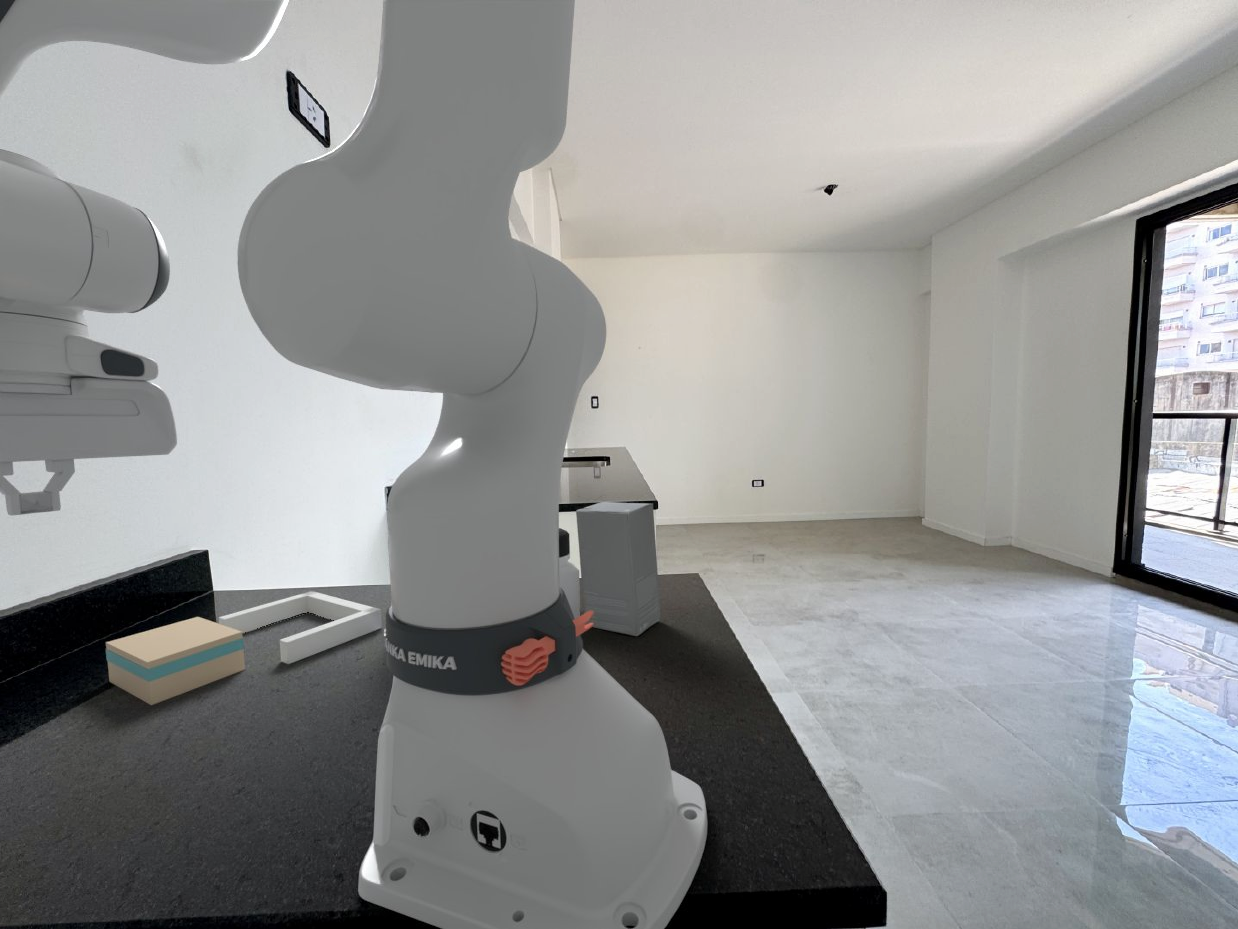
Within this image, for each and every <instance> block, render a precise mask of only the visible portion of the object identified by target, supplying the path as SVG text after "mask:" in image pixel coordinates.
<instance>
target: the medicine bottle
mask: <svg viewBox="0 0 1238 929" xmlns="http://www.w3.org/2000/svg"><path fill="white" fill-rule="evenodd" d="M570 540H571V539H570V533H569V532H568V531H567V530H565V529H563V528H560V527H559V579H560V587H561V589H562V590H563V591H564V593H565V595H566V597H567V600H568V602H569V605H570V607H571V610H572V613H573V615H574V618H575V619H576V618H578V617H579V616H581V599H580V598H581V595H580V594H581V592H580V591H581V590H580V585H581V584H580V570H579V569H578V567H577V566H576V565H575V564H574V563H573V562H572V561H571V560H570V558H571V549H570V548H571V546H570Z"/></svg>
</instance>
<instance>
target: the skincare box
mask: <svg viewBox="0 0 1238 929" xmlns="http://www.w3.org/2000/svg"><path fill="white" fill-rule="evenodd" d="M575 513H576V514H575V515H576V525H577V526H576V527H577V537H578V538H577V539H578V540H577V541H578V548H579V549H578V550H579V564H580V576H581V580H580V581H581V591H582V604H583V605H582V606H583V614H585V613H586V612H588V611H590V610H592V611H594V614H593V615H592V617H591V618H590V620H589V621H588V622H586V623H585V625H587V624H589V623H594V625H593V626H592V627H591V628H594V629H599V630H605V631H609V632H614V633H619V634H623V635H624V634H625V635H629V636H634V637H638V636H639V635H641V634H642V633H644V632H645V631H646V630H647V629H649V628H650V627H652V626H653V625H654V624H656V623H658V622H659V621H660V618H661V617H662V616H661V603H660V588H659V587H660V586H659V576H658V575H659V574H658V558H657V545H656V532H655V531H656V529H655V516H654V503H645V502H644V503H643V502H642V503H641V502H640V503H639V502H636V503H635V502H629V503H628V502H615V501H614V502H613V501H611V502H610V501H601V502H598V503H595V504H592V505H589V506H585V507H583V508H580V509H579V508H578V509H577V510H576V511H575Z"/></svg>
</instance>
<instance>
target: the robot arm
mask: <svg viewBox="0 0 1238 929" xmlns="http://www.w3.org/2000/svg"><path fill="white" fill-rule="evenodd" d="M289 1H290V0H0V98H1V96H3V94H4V93H5V91H6V90H7V88H8V86H9V85H10V83H11V82H12V81H13V79H14V77H15V76H16V74H17V73H18V72H19V70H20V69H21V67H22V65H23V64H24V63H25V61H26V60H27V59H28V58H29V57H31V56H32V55H33V54H34V53H36V52H38V51H39V50H41V49H43V48H46V47H47V46H50V45H55V44H59V43H65V42H93V43H100V44H101V43H102V44H109V45H115V46H120V47H125V48H129V49H134V50H136V51H137V50H138V51H143V52H144V53H145V52H146V53H150V54H153V55H158V56H161V57H165V58H169V59H171V60H178V61H181V62H185V63H193V64H199V65H200V64H202V65H228V64H234V63H235V64H236V63H238V62H242V61H245V60H248V59H251V58H253V57H254V56H256V55H257V54H259V52H260V51H262V49H263V48H264V47H265V46H266V45H267V44H268V42H269V41H270V39H271V38H272V36H273V35H274V33H275V32H276V31H277V30H276V29H278V26H279V24H280V22H281V20H282V17H283V15H284V12H285V10H286V8H287V6H288V3H289ZM575 4H576V0H382V15H381V16H382V17H381V28H380V43H379V44H380V45H379V55H378V67H377V72H376V76H375V77H376V78H375V82H374V86H373V90H372V93H371V97H370V100H369V103H368V105H367V107H366V110H365V112H364V114H363V116H362V117H361V119H360V121H359V123H358V125H357V126H356V128H355V129H354V130H353V131H352V132H351V134H350V135H349V136H348V137H347V139H345V140H344V141H343V142H342V143H341V144H340V145H338V146H337V147H336V148H334V149H333V150H332V151H330V152H328V153H326V154H324V155H321V156H319V157H317V158H314V159H311V160H310V159H309V160H308V161H305V162H304V161H303V162H300V163H299V164H296V165H295V166H292V167H291V168H289V169H287V170H285V171H284V172H282V173H281V174H279V175H278V176H277V177H275V178H274V179H272V181H270V182H269V183H268V184H267V185H266V186H265V187H264V188H263V189H262V191H261V192H260V193H259V194H258V196H257V197H256V198H255V199H254V201H253V202H252V204H251V206H250V208H249V209H248V210H247V213H246V215H245V218H244V220H243V224H242V227H241V229H240V233H239V237H238V243H237V244H238V245H237V254H236V255H237V272H238V273H237V274H238V279H239V285H240V289H241V293H242V297H243V299H244V301H245V304H246V307H247V309H248V312H249V313H250V315H251V318H252V320H253V321H254V323H255V324H256V326H257V328H258V329H259V331H260V332H261V335H263V337H264V338H265V339H266V340H267V341H268V343H269V344H270V345H271V347H273V349H274V350H275V351H276V352H277V353H278V354H279V355H280V356H282V358H284V359H286V360H287V361H288V362H291V363H293V364H295V365H298V366H301V367H304V368H307V369H310V370H312V371H316V372H318V373H319V372H320V373H323V374H326V375H328V376H332V377H335V378H338V379H342V380H345V381H349V382H351V383H355V384H359V385H362V386H366V387H370V388H375V389H380V390H386V391H387V390H391V391H405V392H406V391H407V392H421V393H423V392H424V393H435V394H436V393H437V394H442V402H441V409H440V415H439V420H438V424H437V426H436V428H435V432H434V435H433V437H432V438H431V441H430V442H429V444H428V446H427V447H426V450H425V451H424V452H423V453H422V454H421V455H420V457H419V458H417V459H416V460H415V461H414V462H412V463H411V464H410V465H409V466H407V467H406V469H404V470H403V471H402V472H400V474H399V475H398V477H397V478H396V479H395V481H394V483H393V484H392V486H391V488H390V491H389V494H388V498H387V503H386V516H387V517H386V519H387V542H388V541H389V550H388V561H389V560H390V566H389V579H390V578H391V583H390V594H391V595H390V596H391V597H392V599H391V604H390V605H389V606H388V608H387V609H386V612H385V628H384V629H383V630H384V631H383V643H384V645H383V646H384V649H385V650H386V652H385V653H386V666H387V669H388V671H389V672H390V673H391V674H392V675H393V676H392V677H393V678H392V684H391V685H392V687H391V689H390V694H389V699H388V704H387V706H386V710H385V714H384V716H383V721H382V724H381V726H380V730H379V732H378V733H379V735H378V738H377V751H376V752H377V754H376V772H375V791H374V792H375V793H374V794H375V795H374V796H375V797H374V820H373V836H372V841H371V843H370V845H369V847H368V849H367V851H366V853H365V855H364V857H363V860H362V862H361V864H360V866H359V867H360V868H359V872H358V886H357V887H358V888H357V892H358V895H359V897H360V898H361V899H363V900H364V901H367V902H369V903H372V904H374V905H377V906H379V907H383V908H385V909H388V910H391V911H394V912H396V913H399V914H401V915H405V916H407V917H410V918H413V919H415V920H417V921H421V922H424V923H426V924H429V925H432V926H435V927H436V928H440V929H629V928H628V927H629V926H632V927H633V928H631V929H665V928H666V927H667V926H668V924H669V922H670V921H671V919H672V918H673V917H674V915H675V913H676V912H677V910H678V909H679V908H680V905H681V903H682V902H683V900H684V898H685V896H686V894H687V892H688V890H689V888H690V887H691V885H692V882H693V880H694V878H695V875H696V873H697V871H698V869H699V866H700V864H701V859H702V857H703V853H704V850H705V846H706V841H707V836H708V813H707V807H706V805H707V804H706V800H705V796H704V793H703V789H702V788H701V786H700V785H699V784H697V783H696V782H694V781H693V780H692V779H689V778H687V777H686V776H684V775H682V774H680V773H678V772H677V771H675V770H672V767H671V763H670V762H671V761H670V757H669V751H668V750H669V749H668V746H667V743H666V740H665V736H664V732H663V730H662V727H661V726H660V723H659V721H658V720H657V719H656V717H655V716H654V715H653V714H652V713H650V711H649V710H647V709H646V708H645V707H644V706H643V705H642V704H641V703H640V702H639V701H638V700H637V699H636V698H635V697H633V696H632V695H631V693H629V692H628V691H627V690H626V689H625V688H624V687H623V686H622V685H621V684H620V683H619V682H618V681H617V680H616V679H615V678H614V677H613V676H612V675H611V674H610V673H608V671H607V670H606V669H605V668H604V667H602V666H601V665H600V664H599V662H597V661H596V659H594V658H593V657H592V656H591V655H590V654H589V653H588V652H587V651H586V650H585V649H584V641H583V638H582V634H584V633H585V632H587V631H588V630H590V629H591V628H593V627H592V626H593V625H594V623H589V624H587V625H585V623H586V622H588V621H589V620H590V618H591V617H592V615H593V614H594V611H592V610H590V611H588V612H586V613H585V614H584V613H583V614H580V616H579V617H578V618H576V619H575V618H574V615H573V613H572V610H571V607H570V605H569V602H568V600H567V597H566V595H565V593H564V591H563V590H562V589H561V587H560V579H559V528H560V523H559V522H560V521H559V520H560V514H559V513H560V512H559V510H560V506H559V505H560V503H559V502H560V501H559V500H560V485H561V484H560V483H561V475H562V467H563V461H564V456H565V450H566V445H567V442H568V437H569V433H570V428H571V424H572V421H573V416H574V412H575V409H576V405H577V402H578V398H579V396H580V393H581V391H582V388H583V386H584V384H585V383H586V382H587V380H588V379H589V378H590V377H591V376H592V374H593V373H594V372H595V370H596V369H597V367H598V365H600V361H601V359H602V357H603V354H604V351H605V348H606V341H607V322H606V316H605V314H604V310H603V307H602V306H601V303H600V300H598V298H597V297H596V295H595V294H594V292H592V291H591V289H590V288H589V287H588V286H587V285H586V284H585V283H584V281H582V280H581V279H580V277H578V276H577V274H575V273H574V272H573V271H572V270H571V269H570V268H569V267H568V266H567V265H566V264H564V263H563V262H562V261H561V260H558V259H557V258H555V257H554V256H551V255H549V254H547V253H545V252H543V251H541V250H540V249H537V248H535V247H534V246H531V245H529V244H527V243H525V242H524V241H521V240H519V239H517V238H515V237H513V236H512V233H511V228H510V221H509V220H510V218H509V216H510V215H509V214H510V207H511V202H512V197H513V194H514V191H515V187H516V183H517V181H518V179H519V177H520V173H523V172H526V171H529V170H530V169H532V168H534V167H536V166H537V165H539V164H541V163H542V162H543V161H545V160H546V159H548V158H549V157H550V156H551V155H552V154H553V153H554V152H555V151H556V149H557V148H558V146H559V145H560V144H561V141H562V139H563V137H564V134H565V130H566V125H567V119H568V118H567V114H568V102H569V89H570V88H569V87H570V72H571V61H572V60H571V57H572V47H573V46H572V45H573V35H574V34H573V30H574V16H575ZM170 276H171V267H170V258H169V252H168V249H167V245H166V243H165V240H164V239H163V236H162V234H161V233H160V231H159V230H158V228H157V226H156V225H155V224H154V222H153V221H152V220H151V219H150V218H149V217H148V215H146V214H145V213H144V211H142V210H140V209H139V208H137V207H133V206H131V205H129V204H127V203H126V202H123V201H121V200H120V199H117V198H115V197H112V196H109V195H107V194H103V193H100V192H98V191H95V190H92V189H89V188H87V187H84V186H81V185H78V184H75V183H71V182H68V181H66V180H64V179H63V178H62V177H61V176H60V175H59V174H58V173H56V171H53V170H52V169H51V168H49V167H48V166H46V165H45V164H42V163H40V162H39V161H37V160H35V159H32V158H30V157H27V156H25V155H23V154H19V153H17V152H13V151H9V150H6V149H1V148H0V493H1V494H2V495H4V497H5V507H6V512H7V514H8V516H20V515H21V516H22V515H28V514H31V515H32V514H38V513H49V512H59V511H61V507H62V505H61V497H60V492H62V490H63V489H64V488H65V486H66V485H67V484H68V482H69V481H70V480H71V478H72V476H74V474H75V473H76V469H75V460H82V459H84V460H85V459H102V458H103V459H105V458H124V457H126V458H127V457H147V456H148V457H149V456H164V455H165V456H167V455H170V454H171V453H172V452H173V451H174V449H175V448H176V446H177V444H178V435H177V428H176V423H175V417H174V413H173V408H172V404H171V402H170V399H169V396H168V395H167V393H166V392H165V390H164V389H162V387H160V386H159V385H158V384H155V383H153V382H151V381H153V380H155V379H157V378H158V376H159V365H158V363H157V361H156V360H154V359H152V358H150V357H148V356H145V355H142V354H139V353H135V352H131V351H130V350H129V351H128V350H126V349H123V348H119V347H116V346H113V345H111V344H107V343H104V342H103V341H102V342H101V341H98V340H95V339H92V338H90V337H89V327H88V325H87V322H86V320H85V316H84V311H91V312H97V313H103V314H125V313H126V314H135V313H138V312H141V311H143V310H144V309H147V308H149V307H150V306H152V305H153V304H155V302H157V301H158V300H159V299H160V298H161V297H162V296H163V295H164V294H165V292H166V291H167V288H168V286H169V282H170ZM38 461H44V465H45V470H46V471H45V472H47V473H53V474H52V477H51V478H50V479H49V481H48V483H47V484H46V485H45V487H44V489H43V490H42V491H41V490H40V491H32V492H31V491H30V492H21V491H19V489H17V487H15V486H14V485H13V484H12V483H11V482H10V481H9V480H8V479H7V478H6V477H4V476H13V475H14V473H15V472H14V464H13V463H16V462H19V463H20V462H38ZM627 926H628V927H627Z"/></svg>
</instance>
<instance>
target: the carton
mask: <svg viewBox="0 0 1238 929" xmlns="http://www.w3.org/2000/svg"><path fill="white" fill-rule="evenodd" d="M105 647H106V648H105V655H106V656H105V657H106V658H105V660H106V661H107V668H108V680H109V683H111V684H112V685H115V686H117V687H119V688H120V689H122V690H124V691H125V692H127V693H129V694H130V695H132V696H134V697H136V698H138V699H139V700H142V701H143V702H145V703H147V704H148V705H150V706H153V705H156V704H159V703H161V702H163V701H166V700H169V699H172V698H173V697H176V696H179V695H182V694H184V693H187V692H190V691H192V690H195V689H197V688H201V687H203V686H206V685H208V684H211V683H212V682H216V681H218V680H221V679H224V678H227V677H229V676H232V675H234V674H237V673H239V672H242V671H244V670H246V665H245V664H246V663H245V651H244V650H245V643H244V636H243V634H242V632H241V631H238V630H236V629H233V628H230V627H227V626H224V625H221V624H219V622H215V621H212V620H209V619H206V618H203V617H200V616H195V617H192V618H189V619H185V620H181V621H177V622H174V623H171V624H167V625H163V626H159V627H156V628H153V629H149V630H146V631H142V632H138V633H134V634H131V635H127V636H125V637H121V638H117V639H113V640H110V641H105Z"/></svg>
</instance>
